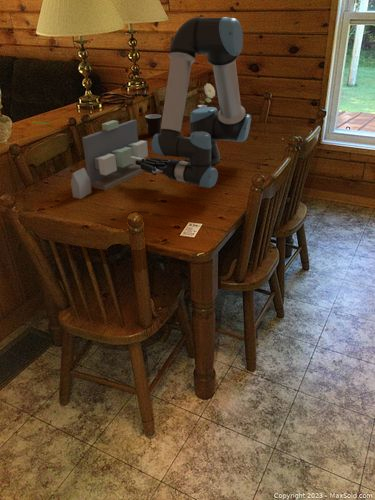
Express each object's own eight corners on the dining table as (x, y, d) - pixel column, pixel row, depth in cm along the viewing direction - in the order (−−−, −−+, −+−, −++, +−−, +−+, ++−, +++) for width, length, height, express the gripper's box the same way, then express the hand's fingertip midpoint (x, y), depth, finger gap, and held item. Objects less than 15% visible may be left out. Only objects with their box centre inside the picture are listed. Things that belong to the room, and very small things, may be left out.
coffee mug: (160, 137, 230) (159, 118, 225) (144, 136, 232) (143, 118, 226) (165, 131, 240) (164, 113, 234) (150, 130, 241) (149, 112, 236)
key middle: (133, 162, 181) (131, 147, 178) (122, 167, 177) (121, 152, 173) (118, 159, 186) (116, 144, 182) (107, 163, 181) (105, 148, 178)
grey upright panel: (152, 167, 192) (148, 116, 181) (105, 190, 171) (98, 134, 160) (125, 161, 200) (120, 111, 188) (77, 182, 179) (68, 128, 168)
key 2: (148, 156, 188) (147, 141, 185) (138, 160, 184) (137, 145, 180) (133, 152, 193) (131, 138, 189) (123, 156, 188) (122, 142, 185)
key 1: (116, 170, 174) (115, 154, 171) (105, 175, 170) (103, 159, 167) (101, 166, 179) (99, 151, 175) (90, 171, 174) (88, 155, 171)
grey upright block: (91, 192, 171) (88, 168, 165) (80, 198, 166) (76, 174, 160) (84, 190, 172) (80, 166, 167) (73, 197, 167) (69, 172, 162)
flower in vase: (198, 135, 231) (198, 86, 218) (188, 130, 240) (187, 83, 227) (219, 132, 236) (220, 84, 223) (208, 127, 245) (209, 80, 232)
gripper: (169, 185, 162) (122, 173, 173) (188, 174, 171) (142, 163, 182) (168, 166, 158) (120, 155, 169) (188, 156, 167) (141, 146, 178)
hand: (131, 159), depth 176 cm, fingers closed
